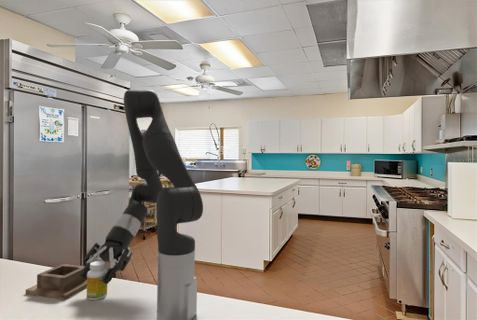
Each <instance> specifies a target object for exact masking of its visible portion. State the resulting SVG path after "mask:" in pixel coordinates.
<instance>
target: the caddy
mask: <svg viewBox="0 0 477 320" xmlns="http://www.w3.org/2000/svg"><path fill="white" fill-rule="evenodd" d="M85 266H86V265H78V264H77V265H76V264H67V263H62V264H60V265H59V264H58V265H57V266H55V267H52V268H49V269H48V270H47V269H46V270H45V271H43V272H40V273H38V274H37V275H36V284H35V285H33V286H31V287H29V288H26V289H25V295H31V296H37V297H38V296H39V297H45V298H53V299H59V300H68V299H70V298H72V297H73V296H75V295H76V294H78V293H80V292H81V291H83V290H85V289H87V278H86V279H85V278H82V277H81V276H80V275H81V272H82V270H83V269H84V267H85Z"/></svg>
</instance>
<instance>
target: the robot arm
mask: <svg viewBox="0 0 477 320" xmlns="http://www.w3.org/2000/svg"><path fill="white" fill-rule="evenodd" d="M123 107H124V112H125V118H126V123H127V127H128V131H129V132H128V133H129V136H130V140H131V144H132V148H133V154H134V164H135V172H136V173H135V174H136V176H137V177H138V178H141V179H143V180H144V181H142V182H138V183H137V184H136V185H135V186H134V187H133V188H132V193H131V196H130V198H129V201H128V204H127V206H126V208H125V209H124V211H123V212H122V214H121V216H119V218H117V220H116V221H115V223H114V224H113V225H112V227H111V228H110V230H109V232H108V233H107V235H106V236H105V242H104V244H102V245H100V244H99V243H97V242H95V243H94V245H93V246H92V247H91V248H90V250H89V251H88V253H87V254H86V255H85V256H84V258H83V261H85V262H86V265H84V266H85V267H84V269H83V270H82V272H81V275H80V276H81V277H82V278H85V279H86V278H87V273H88V272H89V271H90V270H91V269H90V263H92V262H95V261H104V262H105V263H107V262H108V263H110V266H109V267H110V268H108V269H107V272H106V274H105V276H104V277H103V279H102V282H104V283H105V284H107V285H108V284H109V283H110V282H111V281H112V279H113V277H115V275H116V273H117V272H119V271H121V272H123V271H125V269H126V267H127V265H128V263H129V260H131V257H132V255H133V252H132V251H131V250H130V249H129V247H130V245H131V244H132V242H133V240H134V239H135V237H136V236H137V233H138V232H139V230H140V227H141V225H142V223H143V222H144V220H145V218H146V217H147V215H148V211H149V209H148V208H147V207H146V205H145V204H143V203H151V204H155V206H156V207H155V208H156V209H155V210H156V239H157V282H156V283H157V287H156V293H157V296H156V320H193V319H194V318H193V317H195V316H196V315H197V313H198V312H197V310H198V309H197V305H198V304H197V303H198V302H197V301H198V277H197V276H195V268H196V267H195V266H196V265H195V263H196V262H195V261H196V253H195V252H196V239H195V238H194V237H192V236H191V235H189V234H184V233H181V232H178V231H177V225H178V224H184V223H185V224H186V223H192V222H196V221H198V220H200V219H201V218H202V216H203V213H204V204H203V198H202V195H201V193H200V191H199V188H198V187H197V186H196V183H195V181H194V180H193V178H192V177H191V174H190V173H189V171H188V169H187V167H186V164H185V162H184V160H183V159H182V156H181V154H180V151H179V148H178V145H177V143H176V140H175V138H174V136H173V134H172V132H171V130H170V128H169V125H168V123H167V121H166V117H165V115H164V111H163V108H162V105H161V102H160V98H159V96H158V94H157V93H156V91H154V90H152V89H128V90H126V91H125V92H124V93H123ZM144 118H146V119H147V118H151V119H152V120H151V122H150V123H149V125H148V127H147V129H145V130H146V131H145V132H144V134H143V133H142V131H141V129H140V126H139V125H138V120H137V119H144ZM159 173H160V174H161V175H162V176H164V177H165V178H166V179H168V181H169V182H171V184H172V185H173V187H163V184H162V183H163V182H162V180H161V177H160V174H159ZM192 318H193V319H192Z"/></svg>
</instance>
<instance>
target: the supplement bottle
mask: <svg viewBox="0 0 477 320" xmlns="http://www.w3.org/2000/svg"><path fill="white" fill-rule="evenodd" d="M94 261H95V262H94ZM94 261H93V262H92V263H90V269H91V270H90V271H89V272H88V273H87V288H86V299H88V300H90V301H97V300H102V299H103V298H106V296H107V294H108V284H105V283H104V282H102V279H103V277H104V276H105V274H106V272H107V271H108V269H107V268H105V267H106V262H105V261H96V260H94Z"/></svg>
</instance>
